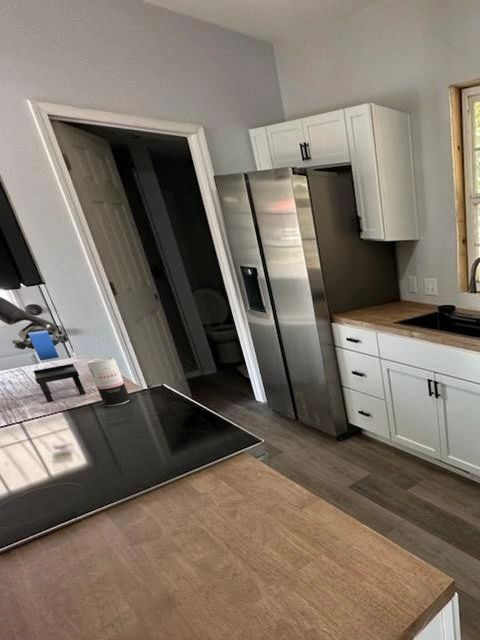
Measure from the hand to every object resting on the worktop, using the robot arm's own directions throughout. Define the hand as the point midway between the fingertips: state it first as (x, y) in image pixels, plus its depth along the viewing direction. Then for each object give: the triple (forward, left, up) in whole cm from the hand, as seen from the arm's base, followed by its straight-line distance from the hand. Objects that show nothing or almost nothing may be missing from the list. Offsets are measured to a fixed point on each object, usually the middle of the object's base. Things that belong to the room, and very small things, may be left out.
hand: (43, 344), depth 142 cm
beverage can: (+27, -18, -18) cm, 37 cm away
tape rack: (+2, -2, -18) cm, 18 cm away
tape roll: (-2, +2, -6) cm, 6 cm away
